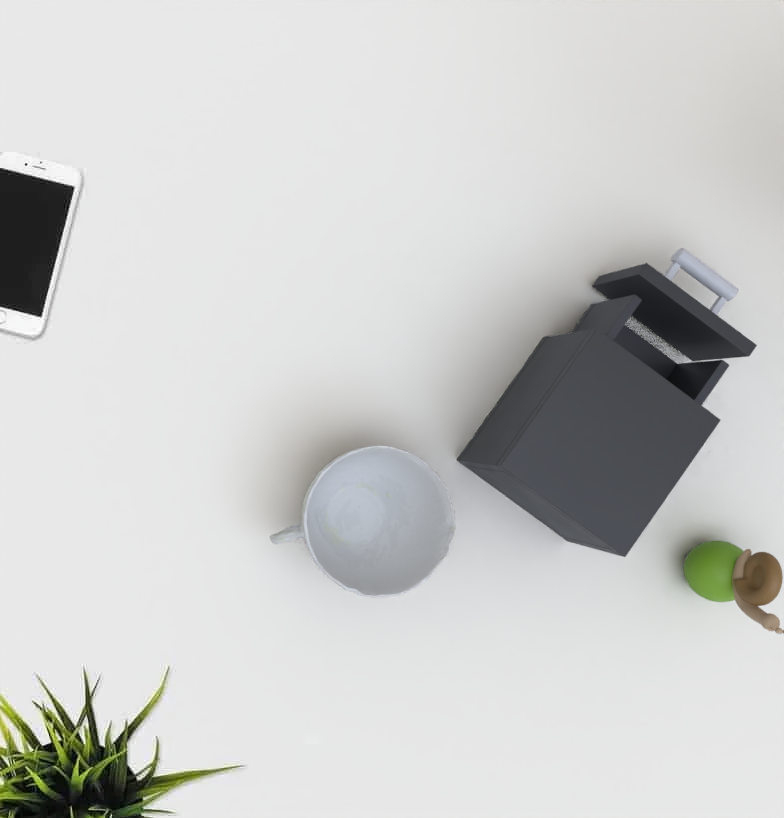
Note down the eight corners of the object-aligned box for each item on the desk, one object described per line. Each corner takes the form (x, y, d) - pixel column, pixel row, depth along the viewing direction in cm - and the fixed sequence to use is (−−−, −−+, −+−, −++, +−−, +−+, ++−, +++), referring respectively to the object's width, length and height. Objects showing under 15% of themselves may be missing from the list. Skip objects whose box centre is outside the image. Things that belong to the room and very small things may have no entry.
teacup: (410, 431, 90) (441, 433, 82) (435, 567, 90) (468, 582, 82) (248, 462, 90) (262, 466, 82) (273, 598, 90) (290, 617, 82)
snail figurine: (665, 602, 91) (752, 631, 79) (675, 533, 91) (763, 551, 80) (722, 610, 92) (817, 640, 80) (732, 541, 92) (828, 560, 80)
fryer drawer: (625, 238, 90) (675, 221, 82) (726, 313, 91) (786, 304, 83) (518, 388, 90) (559, 386, 82) (621, 463, 90) (671, 468, 82)
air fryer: (543, 337, 91) (597, 327, 81) (654, 419, 91) (721, 419, 82) (456, 460, 91) (500, 465, 81) (568, 542, 91) (625, 557, 81)
